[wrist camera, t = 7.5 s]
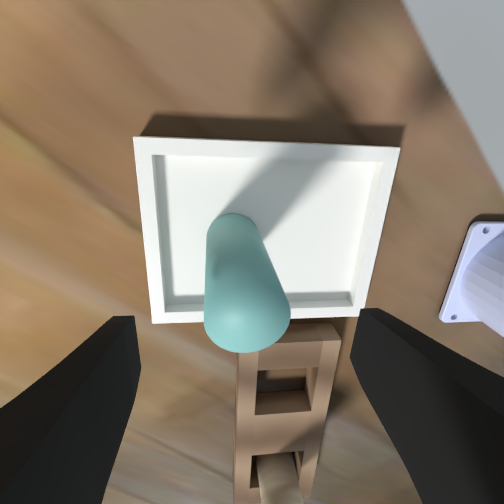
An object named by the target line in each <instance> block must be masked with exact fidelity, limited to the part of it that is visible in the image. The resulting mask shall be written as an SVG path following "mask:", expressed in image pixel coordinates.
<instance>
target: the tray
mask: <svg viewBox="0 0 504 504" xmlns="http://www.w3.org/2000/svg"><path fill="white" fill-rule="evenodd" d="M133 142H134V152H135V161H136V171H137V180H138V190H139V199H140V209H141V218H142V228H143V238H144V247H145V257H146V266H147V276H148V285H149V295H150V304H151V314H152V323H153V324H156V323H184V322H204V292H205V263H206V236H207V231H208V229H209V227H210V225H211V224H212V222H213V221H214V220H215V219H217V218H218V217H220V216H222V215H225V214H228V213H238V214H242V215H245V216H247V217H248V218H250V219H251V220H252V221H253V222H254V223H255V225H256V227H257V229H258V231H259V234H260V236H261V238H262V241H263V243H264V245H265V248H266V250H267V252H268V255H269V257H270V259H271V262H272V264H273V267H274V269H275V271H276V274H277V276H278V278H279V281H280V283H281V285H282V288H283V290H284V292H285V295H286V297H287V300H288V302H289V305H290V309H291V318H290V319H295V318H323V317H350V316H359V313H360V309H363V308H364V306H365V302H366V298H367V293H368V289H369V284H370V280H371V276H372V271H373V267H374V262H375V258H376V254H377V249H378V245H379V240H380V236H381V231H382V227H383V223H384V218H385V214H386V209H387V205H388V201H389V196H390V192H391V187H392V183H393V178H394V174H395V170H396V165H397V161H398V156H399V152H400V148H398V147H391V146H375V145H351V144H327V143H303V142H279V141H255V140H230V139H206V138H182V137H158V136H135V137H133Z"/></svg>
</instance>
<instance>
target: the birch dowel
mask: <svg viewBox="0 0 504 504" xmlns="http://www.w3.org/2000/svg"><path fill="white" fill-rule="evenodd" d="M255 456H256V464H257V472H258V479H259V487H260V495H261V503H262V504H304V502H303V498H302V494H301V490H300V485H299V481H298V477H297V473H296V469H295V465H294V460H293V456H292V452H284V453H273V454H263V455H255Z"/></svg>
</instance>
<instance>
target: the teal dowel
mask: <svg viewBox="0 0 504 504" xmlns="http://www.w3.org/2000/svg"><path fill="white" fill-rule="evenodd" d="M290 318H291V309H290V305H289V302H288V300H287V297H286V295H285V292H284V290H283V288H282V285H281V283H280V281H279V278H278V276H277V274H276V271H275V269H274V267H273V264H272V262H271V259H270V257H269V255H268V252H267V250H266V248H265V245H264V243H263V241H262V238H261V236H260V234H259V231H258V229H257V227H256V225H255V223H254V222H253V221H252V220H251V219H250V218H248V217H247V216H245V215H242V214H238V213H228V214H225V215H222V216H220V217H218V218H217V219H215V220H214V221H213V222H212V224H211V225H210V227H209V229H208V231H207V236H206V263H205V292H204V327H205V330H206V332H207V334H208V336H209V337H210V339H211V340H212V341H213V342H214V343H215V344H217V345H218V346H220V347H221V348H223V349H226V350H228V351H232V352H237V353H249V352H255V351H259V350H262V349H264V348H267V347H269V346H270V345H272V344H274V343H275V342H276V341H277V340H278V339H280V338H281V336H282V335H283V334H284V333H285V331H286V329H287V327H288V325H289V322H290Z"/></svg>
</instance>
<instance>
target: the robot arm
mask: <svg viewBox="0 0 504 504" xmlns="http://www.w3.org/2000/svg"><path fill="white" fill-rule="evenodd" d="M484 228H485V229H484ZM483 229H484V231H483ZM452 315H453V316H452ZM439 319H440V320H441V321H443V322H471V321H482V322H483V323H485V324H486V325H488V326H489V327H490V328H492V329H493V330H494V331H496V332H497V333H498V334H500V335H501V336H503V337H504V222H487V221H478V222H474V223H473V224H472V225H471V226H470V228H469V230H468V233H467V236H466V239H465V242H464V244H463V247H462V250H461V253H460V256H459V259H458V262H457V265H456V268H455V270H454V273H453V276H452V279H451V282H450V285H449V288H448V291H447V294H446V296H445V299H444V302H443V305H442V308H441V311H440V314H439ZM350 359H351V362H352V364H353V367H354V370H355V372H356V375H357V377H358V379H359V382H360V384H361V386H362V388H363V390H364V392H365V394H366V396H367V398H368V399H369V401H370V403H371V405H372V407H373V408H374V410H375V412H376V414H377V416H378V417H379V419H380V421H381V423H382V425H383V426H384V428H385V430H386V432H387V433H388V435H389V437H390V439H391V441H392V442H393V444H394V446H395V448H396V449H397V451H398V453H399V455H400V457H401V459H402V461H403V462H404V464H405V466H406V468H407V470H408V472H409V474H410V476H411V479H412V481H413V483H414V485H415V487H416V490H417V492H418V494H419V496H420V498H421V501H422V503H423V504H504V377H502V376H500V375H498V374H496V373H494V372H492V371H490V370H488V369H486V368H484V367H482V366H480V365H478V364H476V363H475V362H473V361H471V360H469V359H467V358H465V357H463V356H461V355H460V354H458V353H456V352H454V351H453V350H451V349H449V348H447V347H445V346H444V345H442V344H440V343H438V342H437V341H435V340H433V339H432V338H430V337H428V336H426V335H425V334H423V333H421V332H420V331H418V330H416V329H415V328H413V327H411V326H410V325H408V324H406V323H404V322H403V321H401V320H399V319H398V318H396V317H394V316H392V315H390V314H389V313H387V312H385V311H383V310H381V309H379V308H363V309H360V313H359V317H358V322H357V326H356V331H355V335H354V340H353V344H352V349H351V353H350ZM140 372H141V363H140V355H139V348H138V340H137V332H136V325H135V317H134V316H113V317H112V318H110V319H109V320H108V321H107V322H106V323H105V324H103V325H102V326H101V327H100V328H99V329H98V330H97V331H96V332H94V333H93V334H92V335H91V336H90V337H89V338H88V339H87V340H85V341H84V342H83V343H82V344H81V345H80V346H79V347H77V348H76V349H75V350H74V351H73V352H72V353H70V354H69V355H68V356H67V357H66V358H65V359H63V360H62V361H61V362H60V363H59V364H57V365H56V366H55V367H54V368H52V369H51V370H50V371H49V372H47V373H46V374H45V375H44V376H42V377H41V378H40V379H39V380H37V381H36V382H35V383H33V384H32V385H31V386H30V387H28V388H27V389H26V390H25V391H23V392H22V393H21V394H19V395H18V396H17V397H15V398H14V399H13V400H11V401H10V402H9V403H7V404H6V405H4V406H3V407H2V408H0V504H101V503H102V500H103V496H104V493H105V489H106V486H107V483H108V480H109V477H110V474H111V471H112V468H113V465H114V462H115V459H116V456H117V453H118V450H119V447H120V444H121V441H122V438H123V435H124V432H125V429H126V426H127V423H128V420H129V416H130V413H131V410H132V407H133V404H134V401H135V396H136V392H137V387H138V382H139V377H140Z"/></svg>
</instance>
